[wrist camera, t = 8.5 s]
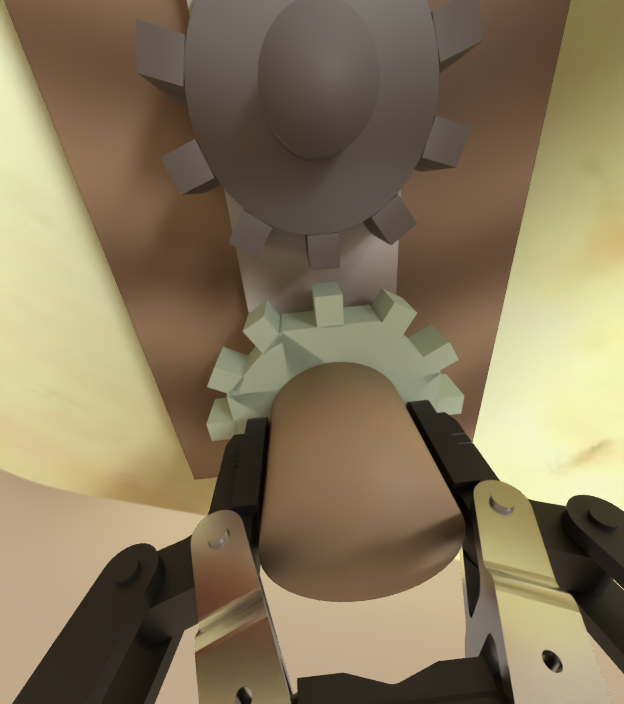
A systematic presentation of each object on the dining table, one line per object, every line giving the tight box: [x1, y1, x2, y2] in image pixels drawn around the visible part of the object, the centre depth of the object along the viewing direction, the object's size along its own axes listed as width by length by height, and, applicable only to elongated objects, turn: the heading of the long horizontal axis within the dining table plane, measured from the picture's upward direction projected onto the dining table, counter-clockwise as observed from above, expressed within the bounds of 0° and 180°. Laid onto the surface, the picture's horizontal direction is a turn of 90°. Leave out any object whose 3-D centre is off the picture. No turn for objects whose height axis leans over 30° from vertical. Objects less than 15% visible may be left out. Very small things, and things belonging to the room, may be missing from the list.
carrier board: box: [4, 0, 570, 479], centre depth 11 cm, size 22×16×6 cm
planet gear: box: [206, 281, 466, 602], centre depth 11 cm, size 10×10×7 cm
